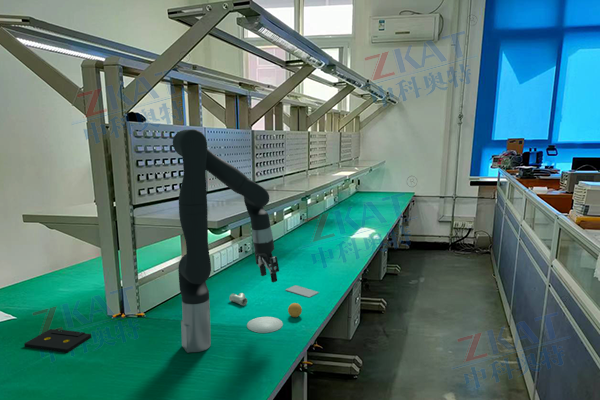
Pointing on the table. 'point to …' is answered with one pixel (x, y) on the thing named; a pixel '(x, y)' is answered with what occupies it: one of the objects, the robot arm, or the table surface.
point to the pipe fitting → (238, 299)
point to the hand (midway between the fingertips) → (269, 278)
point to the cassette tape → (58, 340)
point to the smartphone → (302, 291)
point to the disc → (264, 324)
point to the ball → (294, 310)
